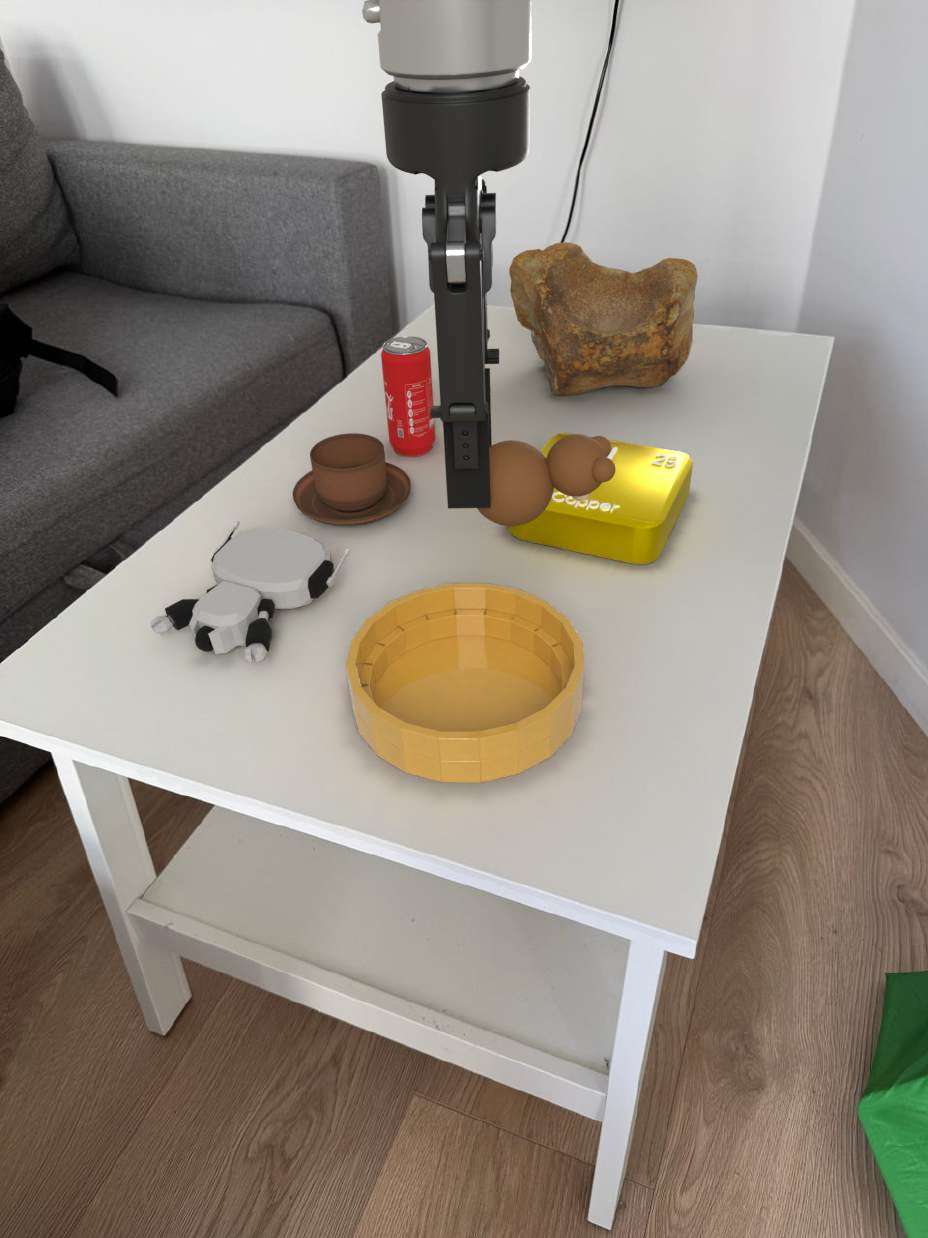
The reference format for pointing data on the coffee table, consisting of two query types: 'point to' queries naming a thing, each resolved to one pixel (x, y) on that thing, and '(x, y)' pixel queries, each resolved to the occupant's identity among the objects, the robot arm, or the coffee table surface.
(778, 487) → the coffee table surface
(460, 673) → the ochre bowl
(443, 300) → the robot arm
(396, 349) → the beverage can
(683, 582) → the coffee table surface
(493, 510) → the plush bear
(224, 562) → the robot toy
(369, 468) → the cup and saucer
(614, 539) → the element tile
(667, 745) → the coffee table surface
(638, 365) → the rough brown rock
